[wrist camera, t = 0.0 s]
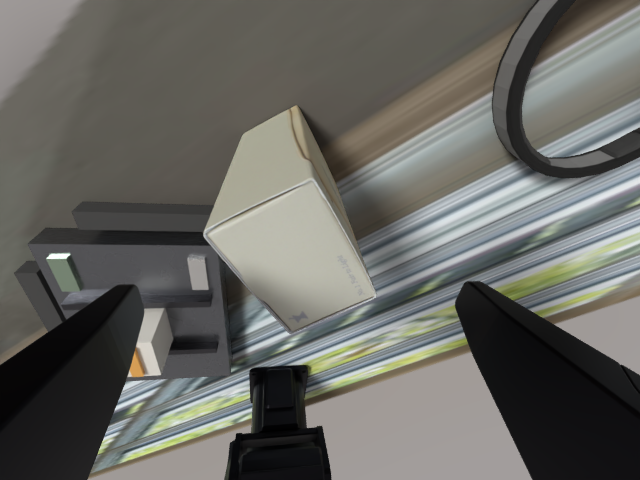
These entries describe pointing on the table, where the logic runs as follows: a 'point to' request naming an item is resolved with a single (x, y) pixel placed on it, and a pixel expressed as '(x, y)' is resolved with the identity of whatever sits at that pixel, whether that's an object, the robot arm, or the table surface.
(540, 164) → the headset
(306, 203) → the skincare box
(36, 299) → the dark grey bar
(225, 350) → the panel
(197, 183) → the table surface
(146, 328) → the breaker lever
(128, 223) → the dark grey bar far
